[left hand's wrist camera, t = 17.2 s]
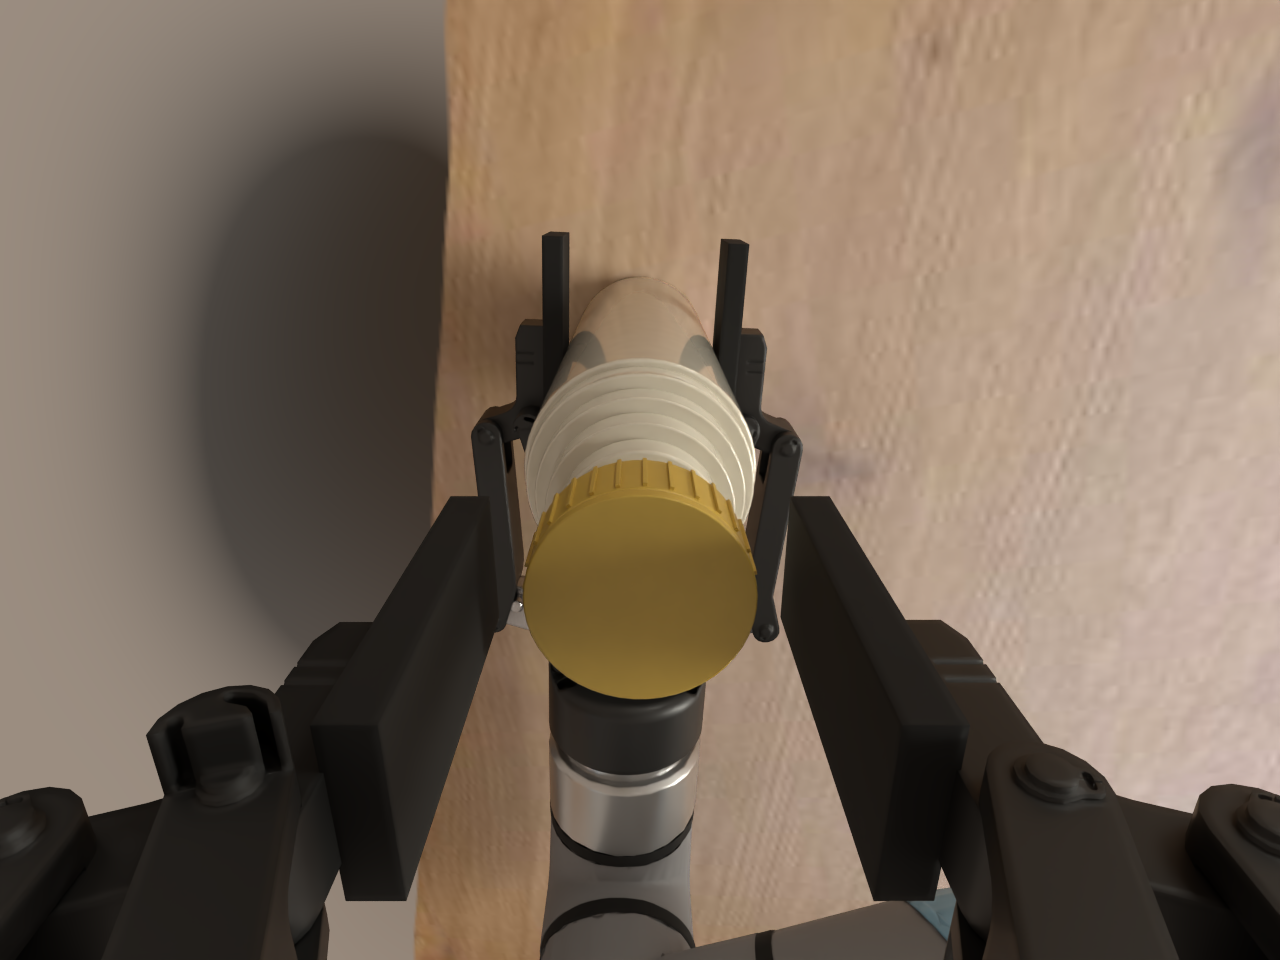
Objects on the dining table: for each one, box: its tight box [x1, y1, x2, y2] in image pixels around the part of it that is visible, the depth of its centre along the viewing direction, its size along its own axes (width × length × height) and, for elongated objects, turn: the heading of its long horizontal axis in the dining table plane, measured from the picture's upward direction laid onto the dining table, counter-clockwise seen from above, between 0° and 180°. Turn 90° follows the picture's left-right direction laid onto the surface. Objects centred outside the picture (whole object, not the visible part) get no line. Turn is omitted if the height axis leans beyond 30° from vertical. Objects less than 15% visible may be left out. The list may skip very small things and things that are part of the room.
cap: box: [522, 458, 758, 699], centre depth 14 cm, size 4×4×2 cm
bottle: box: [524, 277, 756, 525], centre depth 25 cm, size 6×6×24 cm
